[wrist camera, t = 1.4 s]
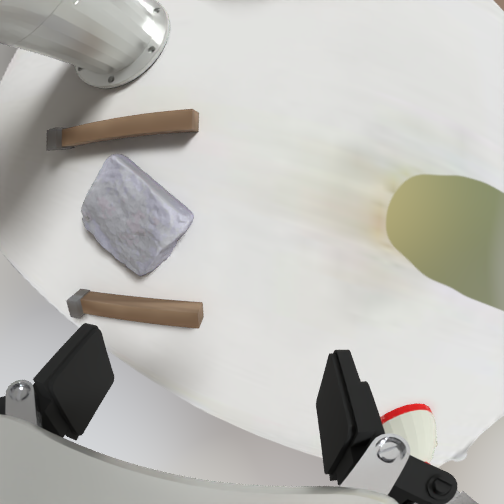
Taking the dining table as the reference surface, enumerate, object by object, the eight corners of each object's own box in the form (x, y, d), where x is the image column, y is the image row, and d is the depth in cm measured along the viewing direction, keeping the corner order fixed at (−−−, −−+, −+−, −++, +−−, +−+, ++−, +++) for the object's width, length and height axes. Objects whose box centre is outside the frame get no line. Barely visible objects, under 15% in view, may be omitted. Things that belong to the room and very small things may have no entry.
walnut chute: (65, 130, 27) (46, 130, 24) (198, 110, 26) (189, 105, 23) (84, 304, 34) (70, 316, 31) (203, 318, 34) (196, 335, 30)
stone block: (161, 269, 34) (204, 210, 29) (142, 290, 30) (185, 227, 25) (95, 209, 33) (126, 145, 28) (70, 223, 28) (98, 151, 24)
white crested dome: (348, 446, 41) (360, 511, 27) (391, 400, 37) (418, 473, 23) (401, 447, 42) (418, 503, 28) (443, 405, 38) (472, 463, 24)
